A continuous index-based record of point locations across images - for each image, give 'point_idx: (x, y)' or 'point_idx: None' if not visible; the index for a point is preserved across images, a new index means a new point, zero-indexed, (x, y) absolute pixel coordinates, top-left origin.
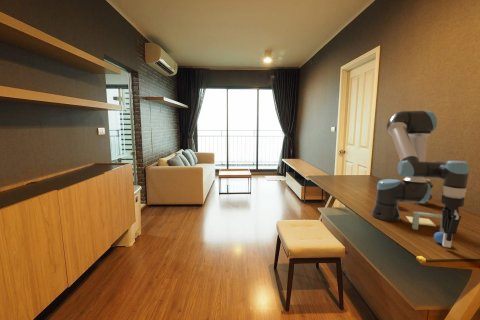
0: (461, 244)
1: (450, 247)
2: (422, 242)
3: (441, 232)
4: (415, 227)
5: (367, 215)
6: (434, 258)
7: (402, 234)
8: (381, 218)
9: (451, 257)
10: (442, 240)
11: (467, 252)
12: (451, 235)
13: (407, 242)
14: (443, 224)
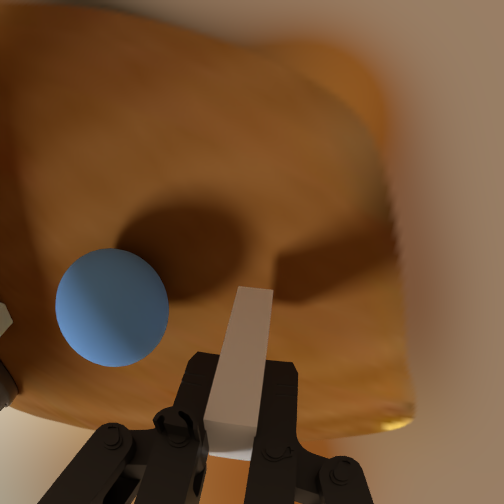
0: (76, 106)
1: (271, 292)
2: None
3: (90, 352)
4: (2, 323)
5: (15, 402)
6: (414, 394)
7: (124, 405)
8: (14, 392)
9: (402, 316)
10: (165, 320)
11: (260, 125)
12: (294, 432)
13: None
14: (128, 500)
